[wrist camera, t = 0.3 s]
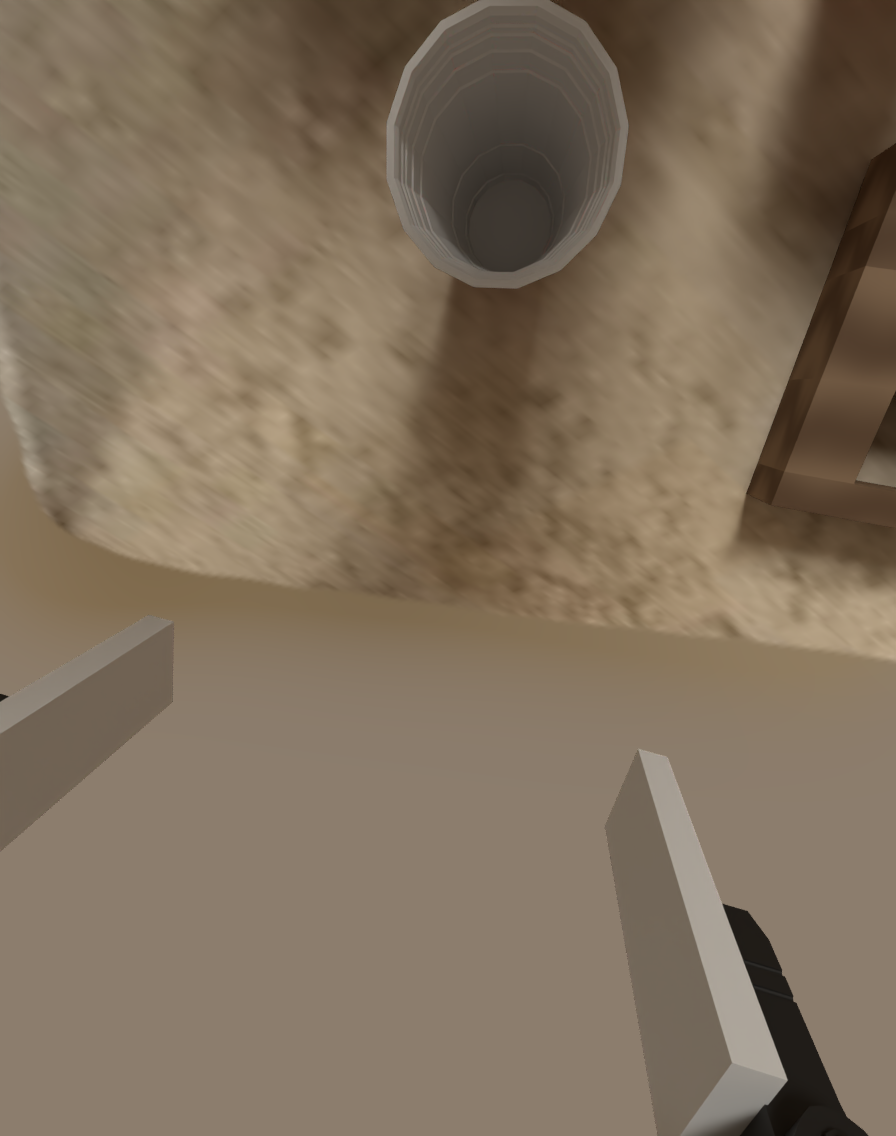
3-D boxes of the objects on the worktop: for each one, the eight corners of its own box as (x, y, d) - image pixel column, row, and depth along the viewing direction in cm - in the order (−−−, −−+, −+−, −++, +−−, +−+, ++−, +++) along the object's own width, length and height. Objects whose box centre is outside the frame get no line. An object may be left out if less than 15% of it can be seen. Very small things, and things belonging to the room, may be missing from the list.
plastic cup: (566, 337, 35) (583, 312, 24) (417, 300, 36) (365, 259, 24) (622, 149, 31) (673, 14, 20) (453, 111, 32) (411, -40, 21)
